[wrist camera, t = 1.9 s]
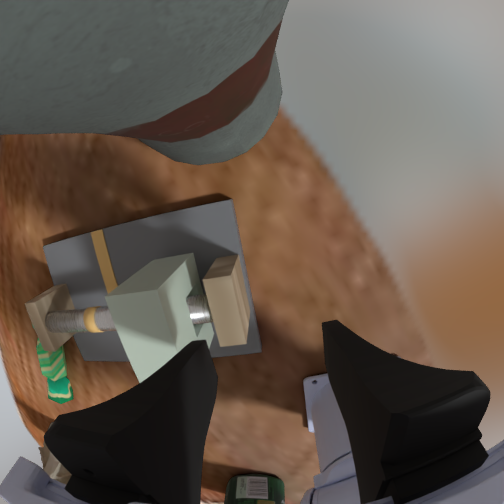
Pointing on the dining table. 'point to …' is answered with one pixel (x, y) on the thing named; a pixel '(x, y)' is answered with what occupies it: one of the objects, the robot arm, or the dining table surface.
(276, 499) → the coffee jar
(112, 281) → the pipe rig
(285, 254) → the dining table surface
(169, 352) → the grey square nut
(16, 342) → the dining table surface
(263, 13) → the bottle
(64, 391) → the candy
